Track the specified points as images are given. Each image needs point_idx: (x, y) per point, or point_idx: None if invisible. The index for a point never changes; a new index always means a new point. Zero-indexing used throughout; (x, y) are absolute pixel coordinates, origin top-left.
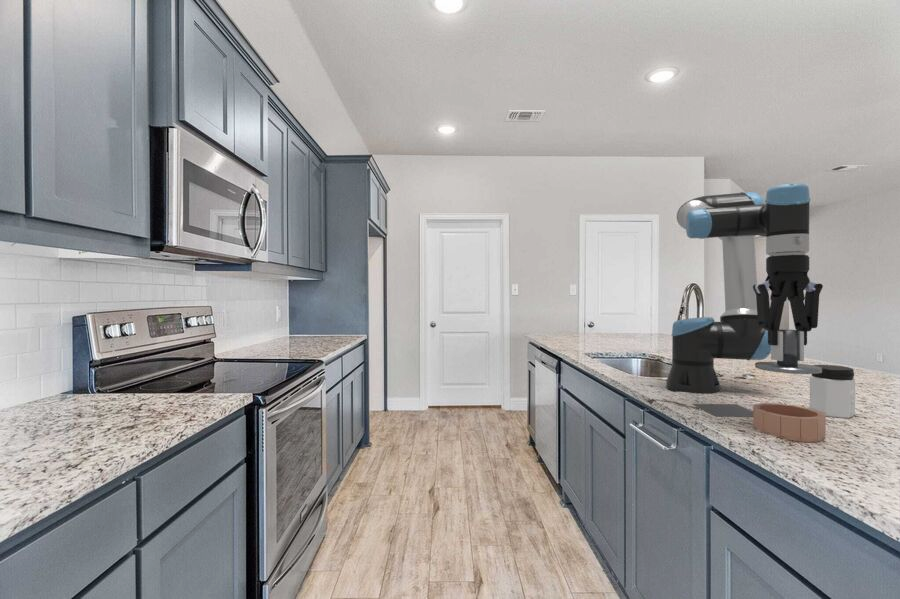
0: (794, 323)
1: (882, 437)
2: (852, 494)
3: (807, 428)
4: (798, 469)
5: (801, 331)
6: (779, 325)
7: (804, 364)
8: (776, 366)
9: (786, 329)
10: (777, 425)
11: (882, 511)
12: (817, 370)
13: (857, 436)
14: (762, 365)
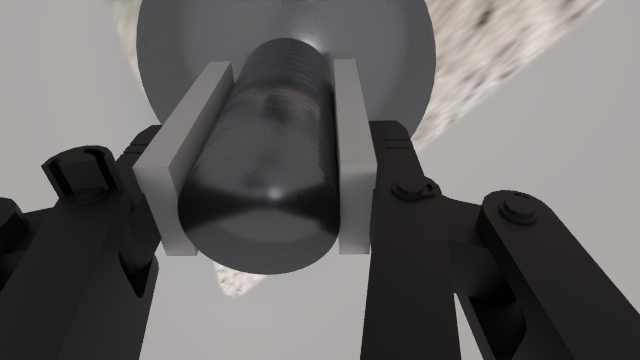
0: (376, 226)
1: (543, 29)
2: (226, 269)
3: None
4: None
5: (353, 249)
6: (148, 297)
7: (417, 36)
8: None
9: (286, 178)
10: None
11: (232, 294)
12: None
13: (481, 24)
14: (157, 83)
